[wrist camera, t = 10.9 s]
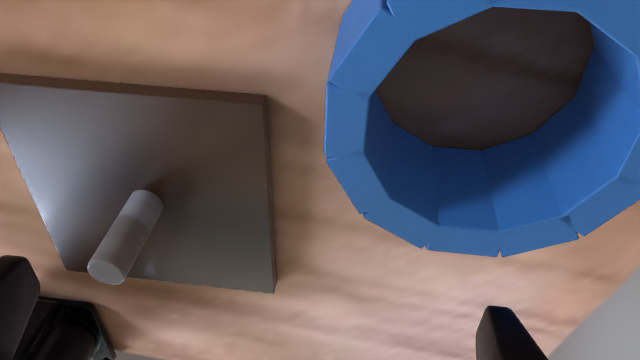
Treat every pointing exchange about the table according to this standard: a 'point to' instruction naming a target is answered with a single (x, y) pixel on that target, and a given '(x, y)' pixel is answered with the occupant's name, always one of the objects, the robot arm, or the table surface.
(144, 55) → the table surface
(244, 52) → the table surface
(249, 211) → the tape stand
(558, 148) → the tape roll
